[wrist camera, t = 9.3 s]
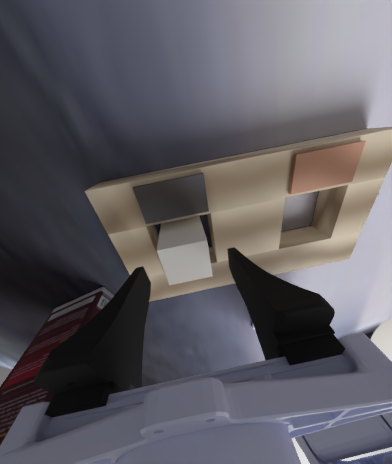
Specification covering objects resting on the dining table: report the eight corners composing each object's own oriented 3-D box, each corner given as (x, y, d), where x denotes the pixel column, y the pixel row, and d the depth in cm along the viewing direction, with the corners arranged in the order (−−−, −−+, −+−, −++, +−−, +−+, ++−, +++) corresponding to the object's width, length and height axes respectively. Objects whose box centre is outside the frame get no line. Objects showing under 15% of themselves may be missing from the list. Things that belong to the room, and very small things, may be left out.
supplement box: (80, 323, 24) (-38, 553, 11) (54, 307, 22) (-143, 576, 8) (127, 303, 23) (62, 529, 10) (105, 284, 21) (-25, 548, 7)
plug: (202, 240, 19) (212, 276, 14) (170, 246, 19) (169, 285, 14) (197, 210, 17) (207, 240, 12) (162, 218, 17) (156, 250, 12)
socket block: (328, 245, 22) (352, 260, 19) (148, 283, 22) (144, 305, 19) (367, 128, 15) (413, 125, 12) (100, 182, 15) (81, 192, 12)
